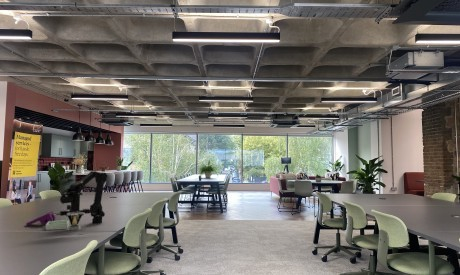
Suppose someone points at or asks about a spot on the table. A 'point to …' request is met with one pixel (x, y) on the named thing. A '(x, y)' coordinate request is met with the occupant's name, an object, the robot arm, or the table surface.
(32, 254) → the table surface
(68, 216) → the robot arm
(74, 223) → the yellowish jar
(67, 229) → the socket block
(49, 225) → the bin
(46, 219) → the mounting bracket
